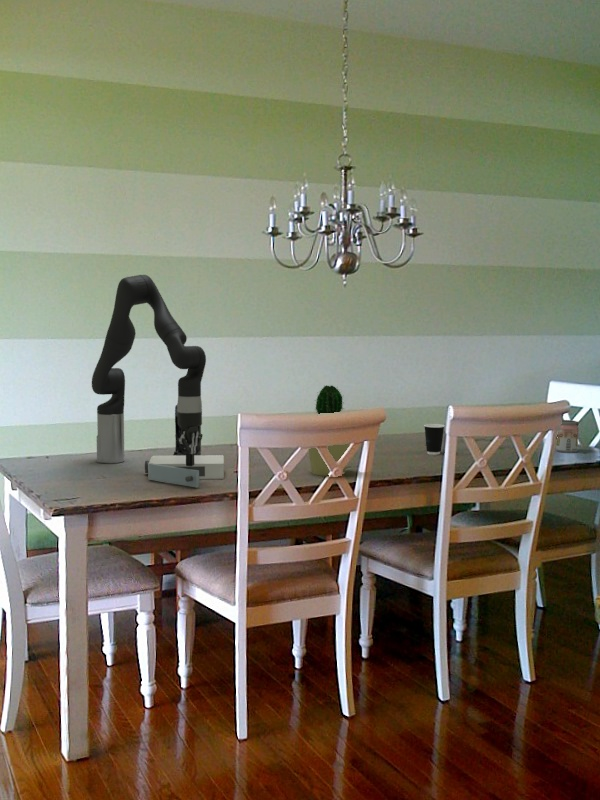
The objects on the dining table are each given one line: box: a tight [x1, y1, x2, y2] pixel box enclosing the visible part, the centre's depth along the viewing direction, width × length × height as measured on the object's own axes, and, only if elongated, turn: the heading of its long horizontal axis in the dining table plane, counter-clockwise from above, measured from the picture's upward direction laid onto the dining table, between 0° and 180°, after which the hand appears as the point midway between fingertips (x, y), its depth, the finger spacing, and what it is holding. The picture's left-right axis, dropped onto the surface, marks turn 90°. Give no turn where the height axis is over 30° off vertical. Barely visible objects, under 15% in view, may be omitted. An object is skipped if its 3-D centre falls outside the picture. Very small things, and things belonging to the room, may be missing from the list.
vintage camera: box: [172, 404, 202, 456], centre depth 311 cm, size 10×16×20 cm, turn 2°
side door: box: [148, 463, 200, 488], centre depth 270 cm, size 21×3×5 cm, turn 55°
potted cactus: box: [308, 384, 350, 477], centre depth 290 cm, size 15×15×30 cm
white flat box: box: [144, 454, 225, 481], centre depth 286 cm, size 26×16×5 cm, turn 95°
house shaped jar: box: [555, 419, 580, 454], centre depth 340 cm, size 9×8×12 cm
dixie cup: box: [423, 423, 446, 456], centre depth 331 cm, size 8×8×11 cm
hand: (190, 465), depth 271 cm, fingers closed
